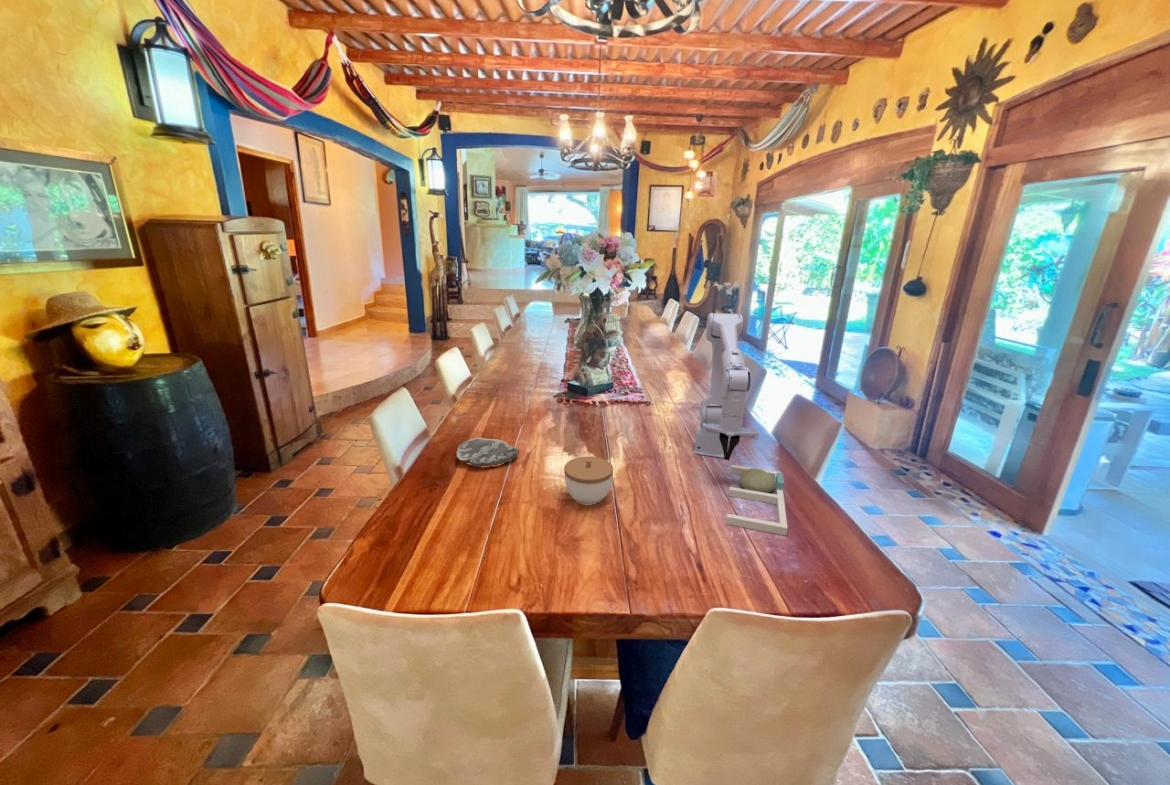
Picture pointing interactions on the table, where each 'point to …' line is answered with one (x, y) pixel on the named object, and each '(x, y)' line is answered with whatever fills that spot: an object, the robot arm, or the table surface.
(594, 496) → the lidded bowl
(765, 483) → the sea urchin shell
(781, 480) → the comb rack
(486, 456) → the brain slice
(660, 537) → the table surface
